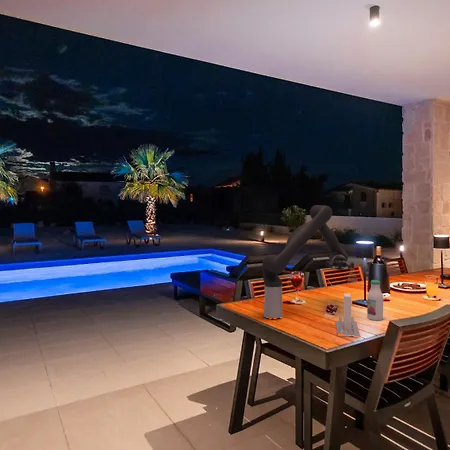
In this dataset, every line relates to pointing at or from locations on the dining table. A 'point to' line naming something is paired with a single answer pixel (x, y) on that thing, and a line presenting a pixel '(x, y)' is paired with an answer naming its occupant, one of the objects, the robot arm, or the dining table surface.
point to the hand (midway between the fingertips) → (340, 266)
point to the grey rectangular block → (347, 311)
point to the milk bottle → (375, 301)
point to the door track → (341, 330)
